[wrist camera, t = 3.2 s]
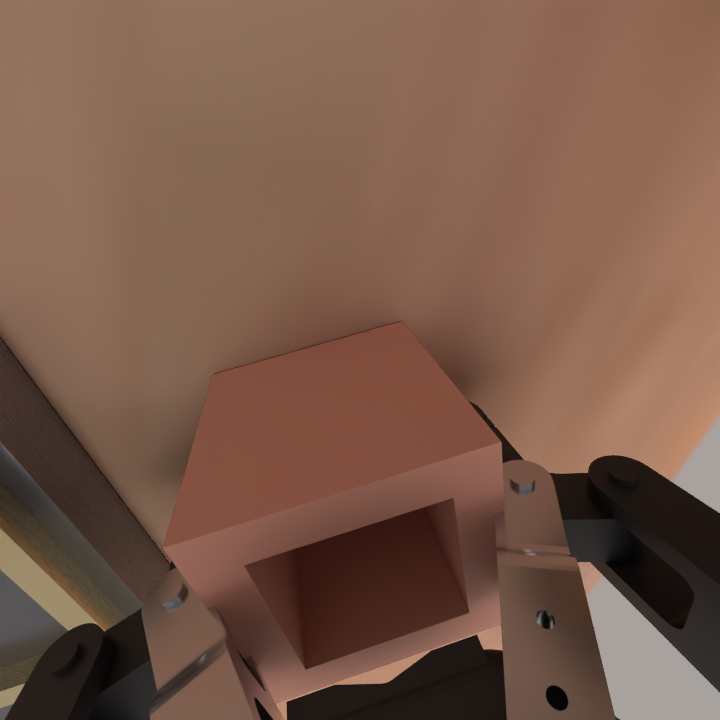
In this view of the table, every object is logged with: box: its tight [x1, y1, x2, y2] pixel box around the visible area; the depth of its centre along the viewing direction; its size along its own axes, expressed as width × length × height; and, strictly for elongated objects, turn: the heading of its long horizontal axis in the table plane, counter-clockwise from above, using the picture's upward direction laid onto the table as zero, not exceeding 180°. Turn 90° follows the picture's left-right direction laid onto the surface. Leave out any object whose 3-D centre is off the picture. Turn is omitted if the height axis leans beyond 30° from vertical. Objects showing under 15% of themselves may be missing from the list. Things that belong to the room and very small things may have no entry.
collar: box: [163, 321, 505, 703], centre depth 11 cm, size 6×6×6 cm
